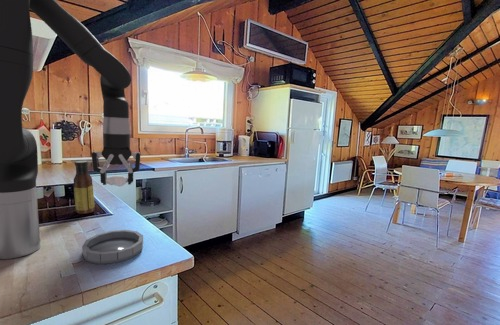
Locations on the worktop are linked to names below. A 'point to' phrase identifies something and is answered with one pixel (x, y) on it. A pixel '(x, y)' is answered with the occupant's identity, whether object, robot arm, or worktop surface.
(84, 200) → the sauce bottle
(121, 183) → the dumpling
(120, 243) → the round dish
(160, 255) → the worktop surface
